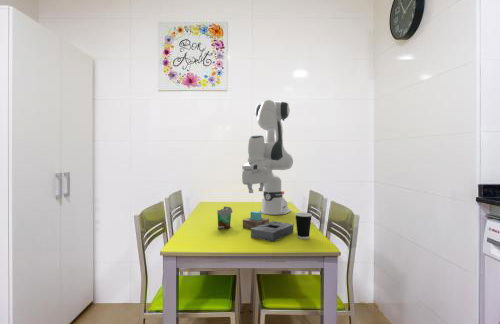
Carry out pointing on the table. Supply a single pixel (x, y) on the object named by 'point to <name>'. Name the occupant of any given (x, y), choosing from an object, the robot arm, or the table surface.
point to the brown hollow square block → (254, 223)
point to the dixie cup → (303, 224)
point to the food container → (224, 218)
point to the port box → (272, 231)
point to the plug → (256, 215)
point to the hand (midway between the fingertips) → (256, 192)
